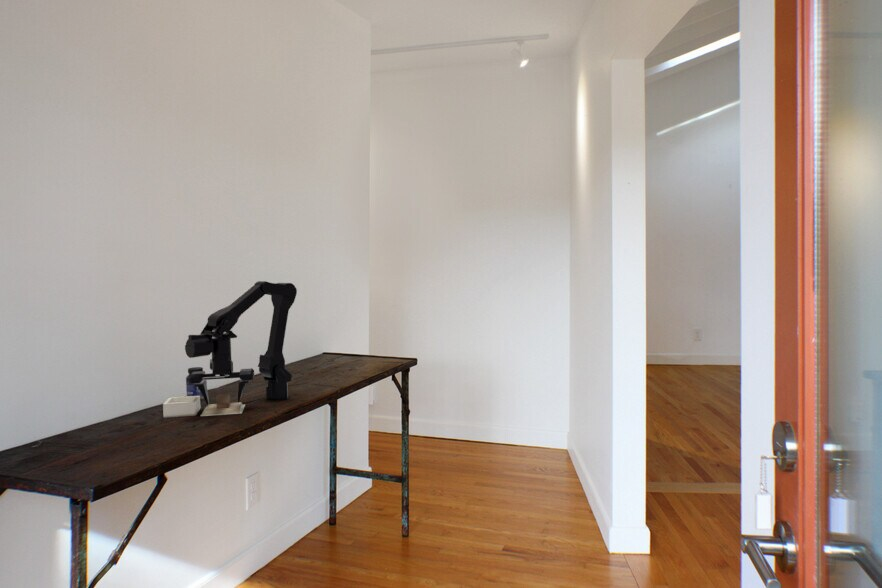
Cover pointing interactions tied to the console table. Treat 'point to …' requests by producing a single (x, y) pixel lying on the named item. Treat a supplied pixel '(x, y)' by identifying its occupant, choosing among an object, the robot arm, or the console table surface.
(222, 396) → the lid
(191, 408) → the beige boxy piece
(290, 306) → the robot arm
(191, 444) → the console table surface
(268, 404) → the console table surface
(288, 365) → the console table surface
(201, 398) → the pill bottle
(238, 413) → the mat
